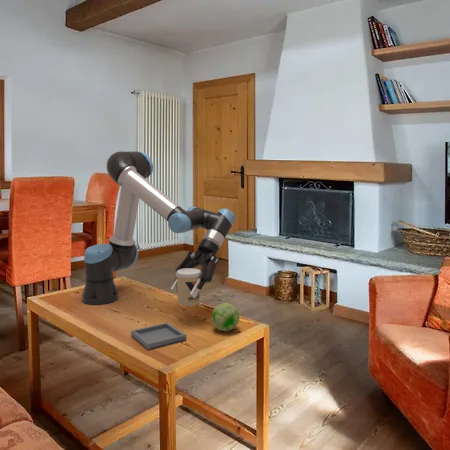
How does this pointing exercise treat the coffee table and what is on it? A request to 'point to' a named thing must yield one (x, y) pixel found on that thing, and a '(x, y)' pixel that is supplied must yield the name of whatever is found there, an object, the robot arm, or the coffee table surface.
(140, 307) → the coffee table surface
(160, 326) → the tray
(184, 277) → the coffee cup
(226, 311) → the decorative ball
